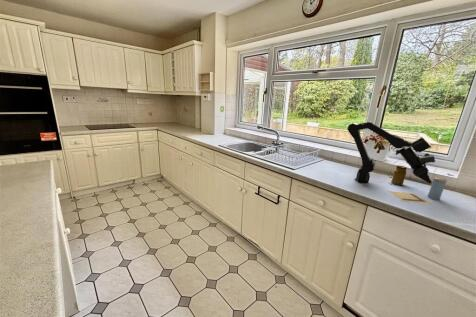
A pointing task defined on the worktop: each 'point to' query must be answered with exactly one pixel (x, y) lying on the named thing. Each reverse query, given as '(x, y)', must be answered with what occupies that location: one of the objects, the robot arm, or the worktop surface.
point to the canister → (437, 188)
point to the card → (409, 197)
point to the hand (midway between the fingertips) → (429, 180)
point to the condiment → (399, 176)
